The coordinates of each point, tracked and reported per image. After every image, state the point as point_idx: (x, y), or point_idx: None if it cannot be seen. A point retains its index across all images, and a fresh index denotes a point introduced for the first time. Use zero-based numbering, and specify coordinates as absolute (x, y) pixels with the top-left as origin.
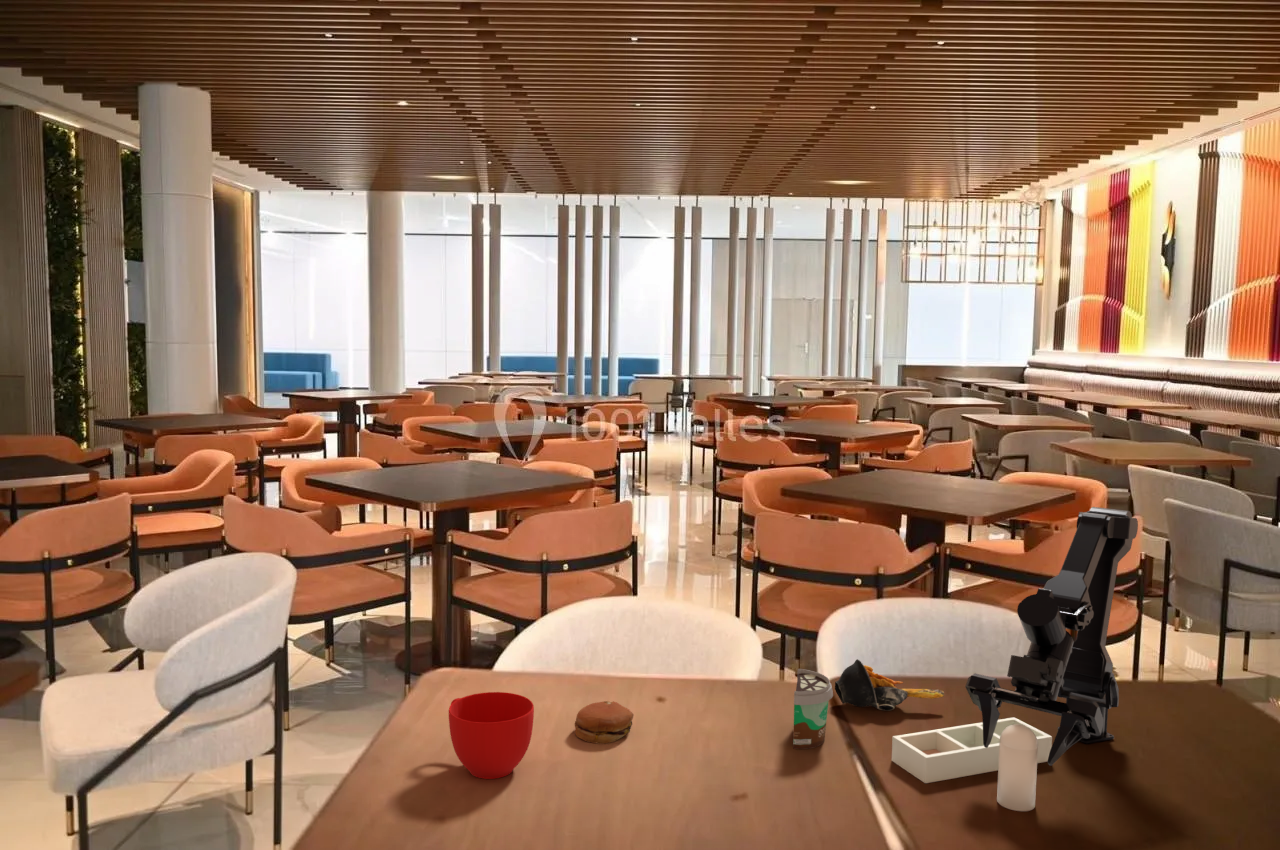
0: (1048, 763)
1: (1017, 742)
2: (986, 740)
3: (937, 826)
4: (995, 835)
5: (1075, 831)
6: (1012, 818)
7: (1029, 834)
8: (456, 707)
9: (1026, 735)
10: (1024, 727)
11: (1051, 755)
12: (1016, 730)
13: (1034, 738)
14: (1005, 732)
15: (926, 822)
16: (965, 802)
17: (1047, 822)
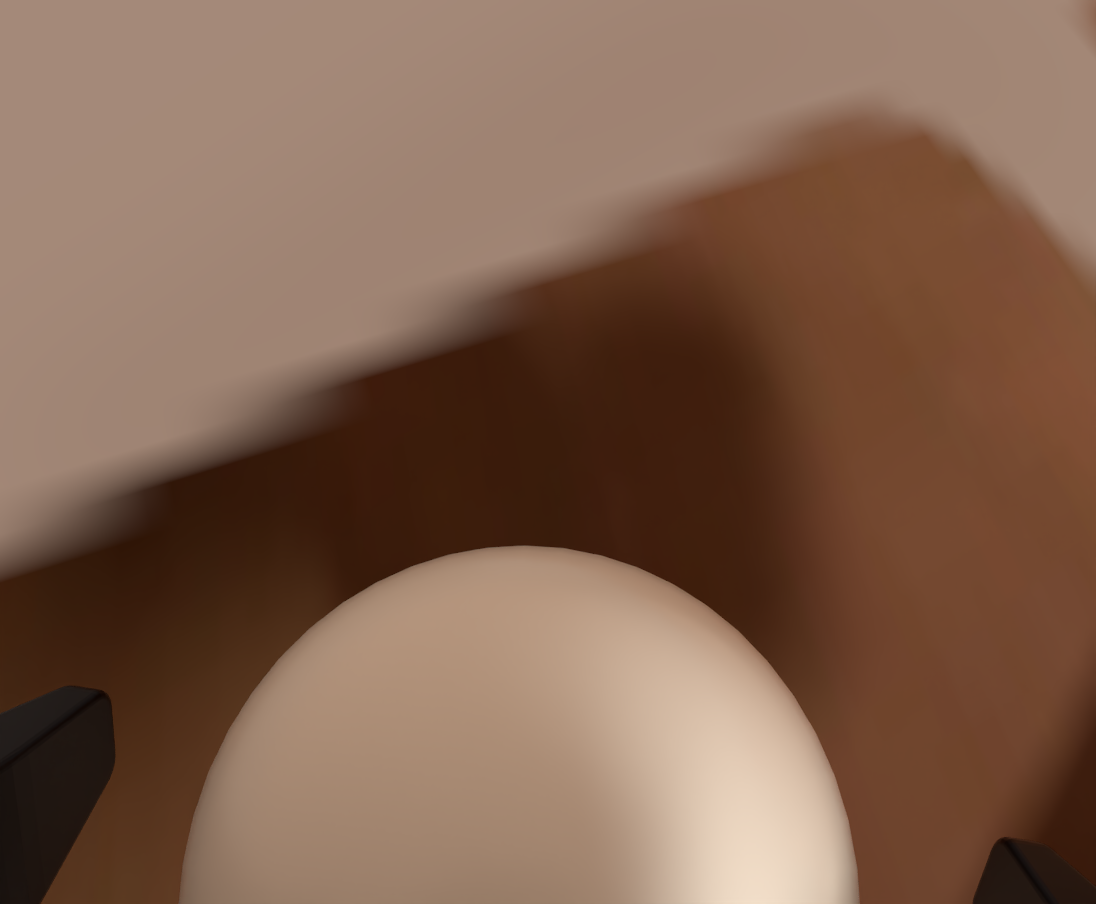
0: (107, 719)
1: (494, 547)
2: (1035, 875)
3: (869, 241)
4: (556, 303)
5: (88, 611)
6: None
7: (375, 413)
8: None
9: (340, 649)
10: (389, 851)
11: (10, 723)
12: (544, 657)
13: (207, 790)
14: (756, 688)
15: (940, 253)
16: (862, 642)
17: (276, 644)
